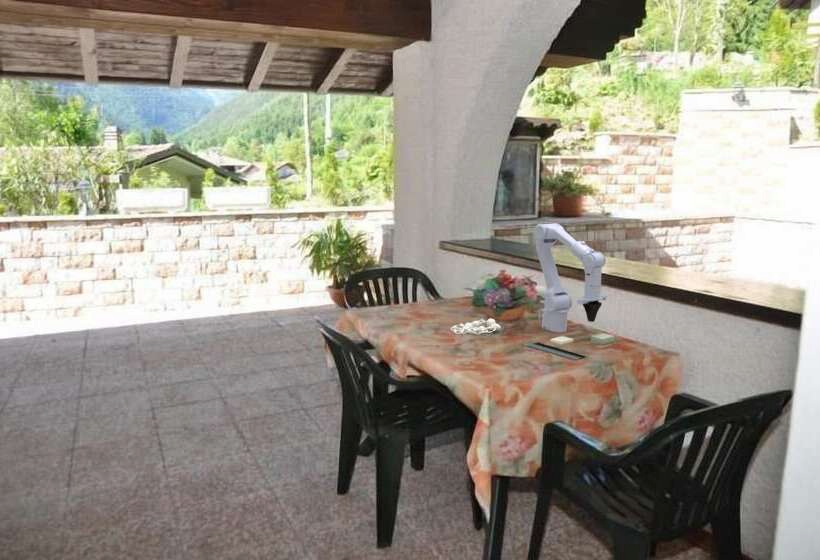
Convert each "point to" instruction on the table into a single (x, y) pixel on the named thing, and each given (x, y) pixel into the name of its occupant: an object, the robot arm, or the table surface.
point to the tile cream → (561, 340)
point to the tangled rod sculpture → (474, 326)
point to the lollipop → (541, 293)
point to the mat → (556, 351)
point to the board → (587, 339)
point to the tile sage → (602, 338)
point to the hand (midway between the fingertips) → (591, 321)
